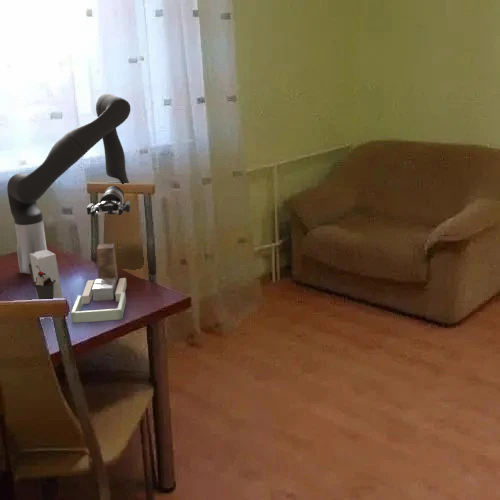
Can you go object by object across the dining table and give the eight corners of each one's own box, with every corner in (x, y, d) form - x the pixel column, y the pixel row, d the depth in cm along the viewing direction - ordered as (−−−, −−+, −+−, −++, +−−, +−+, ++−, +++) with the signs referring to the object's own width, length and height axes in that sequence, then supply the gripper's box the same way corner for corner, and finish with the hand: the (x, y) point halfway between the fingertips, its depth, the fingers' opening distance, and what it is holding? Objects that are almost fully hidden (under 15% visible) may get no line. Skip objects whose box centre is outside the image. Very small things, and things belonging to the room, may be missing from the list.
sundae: (38, 311, 225) (31, 263, 221) (61, 309, 226) (55, 261, 221) (34, 320, 219) (27, 270, 215) (58, 318, 220) (51, 269, 215)
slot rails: (82, 303, 230) (81, 296, 229) (88, 287, 243) (87, 280, 242) (122, 301, 230) (122, 293, 229) (126, 285, 244) (125, 277, 243)
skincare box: (63, 300, 233) (57, 254, 228) (44, 305, 230) (37, 258, 225) (53, 293, 240) (48, 248, 235) (35, 297, 236) (28, 252, 232)
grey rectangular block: (93, 301, 232) (92, 288, 231) (95, 296, 236) (94, 284, 234) (113, 300, 232) (112, 287, 231) (114, 295, 236) (113, 283, 235)
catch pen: (72, 322, 216) (70, 313, 215) (79, 304, 229) (77, 295, 228) (121, 319, 216) (120, 309, 216) (126, 301, 230) (125, 292, 229)
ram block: (100, 284, 245) (96, 248, 242) (102, 279, 250) (98, 244, 247) (116, 283, 246) (112, 247, 242) (117, 278, 250) (114, 243, 247)
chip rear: (95, 295, 236) (94, 283, 235) (97, 290, 240) (95, 279, 239) (115, 294, 237) (113, 282, 236) (116, 289, 241) (115, 277, 239)
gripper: (90, 192, 266) (83, 203, 251) (131, 189, 267) (127, 200, 251) (92, 212, 269) (86, 225, 253) (133, 210, 269) (129, 222, 254)
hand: (106, 213), depth 252 cm, fingers open, 8 cm apart
